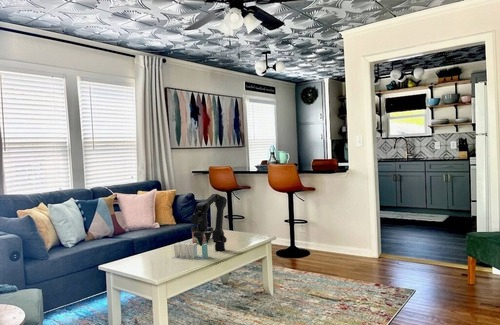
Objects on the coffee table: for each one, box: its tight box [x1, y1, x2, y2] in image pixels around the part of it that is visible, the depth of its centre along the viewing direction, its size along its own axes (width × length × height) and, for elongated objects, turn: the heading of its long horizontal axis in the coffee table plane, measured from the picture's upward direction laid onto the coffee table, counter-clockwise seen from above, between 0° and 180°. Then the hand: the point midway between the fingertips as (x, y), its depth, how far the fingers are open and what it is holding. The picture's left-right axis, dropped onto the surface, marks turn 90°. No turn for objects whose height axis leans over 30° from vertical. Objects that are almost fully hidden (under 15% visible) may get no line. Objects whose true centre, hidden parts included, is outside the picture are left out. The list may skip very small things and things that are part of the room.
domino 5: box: [201, 243, 209, 260], centre depth 262 cm, size 2×5×9 cm, turn 159°
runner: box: [171, 254, 211, 261], centre depth 266 cm, size 26×10×1 cm, turn 68°
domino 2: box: [180, 242, 186, 257], centre depth 269 cm, size 2×5×9 cm, turn 158°
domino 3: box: [185, 242, 192, 258], centre depth 267 cm, size 2×5×9 cm, turn 159°
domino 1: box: [173, 242, 181, 257], centre depth 270 cm, size 2×5×9 cm, turn 158°
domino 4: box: [191, 243, 198, 258], centre depth 265 cm, size 2×5×9 cm, turn 159°
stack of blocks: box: [191, 231, 206, 245], centre depth 317 cm, size 21×6×12 cm, turn 169°
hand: (204, 244), depth 262 cm, fingers open, 9 cm apart
